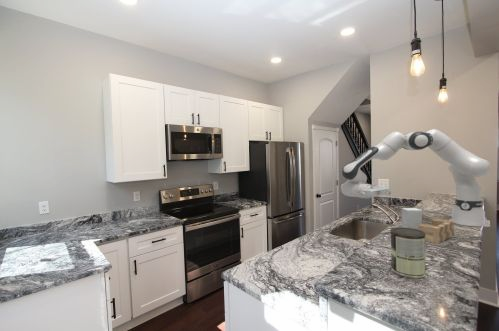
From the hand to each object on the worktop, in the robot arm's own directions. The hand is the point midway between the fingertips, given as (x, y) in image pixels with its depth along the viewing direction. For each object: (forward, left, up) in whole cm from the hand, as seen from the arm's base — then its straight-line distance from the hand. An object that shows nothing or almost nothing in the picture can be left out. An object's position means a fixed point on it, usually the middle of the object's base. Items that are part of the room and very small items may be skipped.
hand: (389, 193), depth 142 cm
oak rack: (0, +22, -20) cm, 30 cm away
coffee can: (+52, +30, -20) cm, 63 cm away
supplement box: (0, +11, -20) cm, 23 cm away
